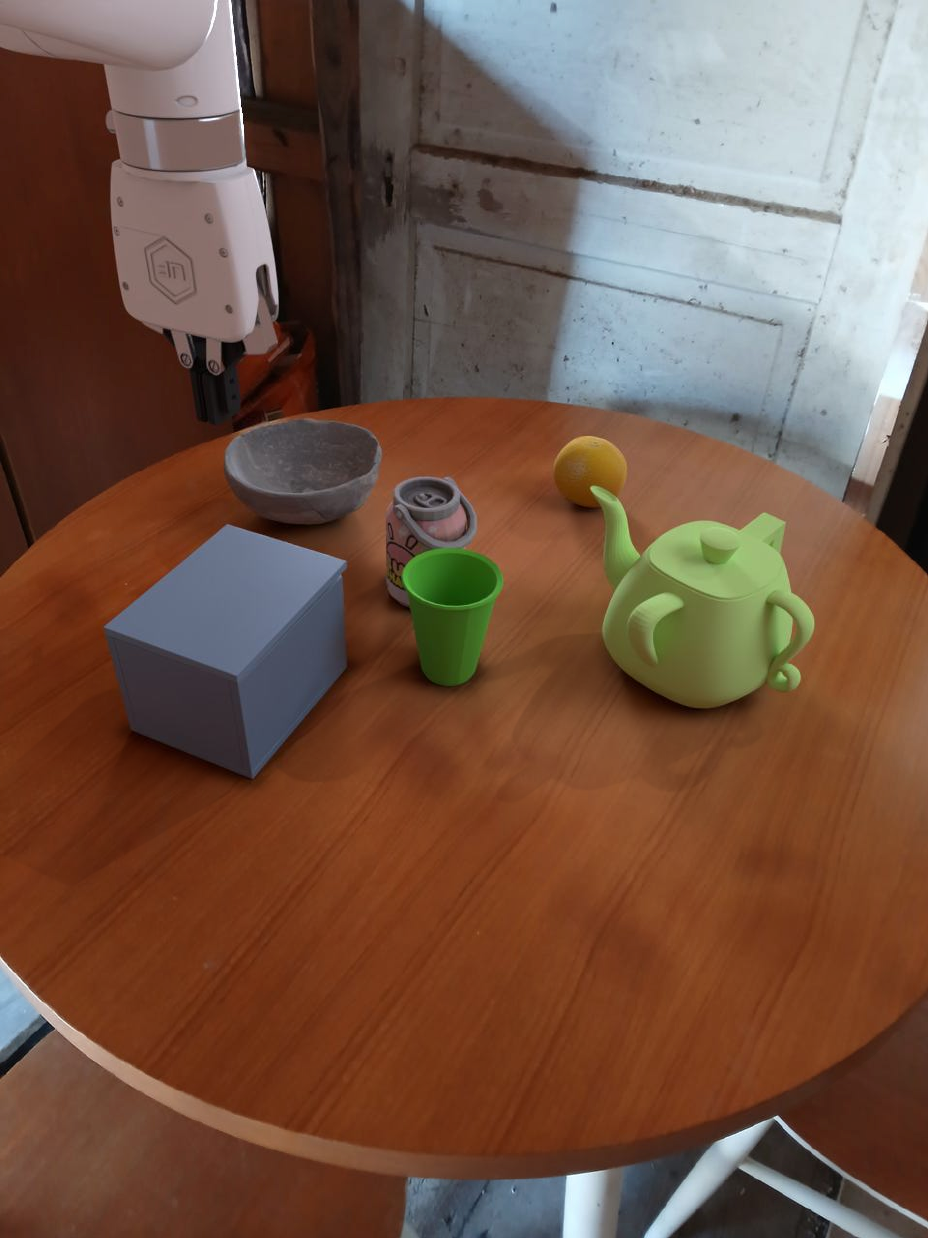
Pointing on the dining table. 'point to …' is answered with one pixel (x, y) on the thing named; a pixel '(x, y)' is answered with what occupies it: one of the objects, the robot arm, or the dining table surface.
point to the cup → (451, 610)
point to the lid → (227, 602)
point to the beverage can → (424, 525)
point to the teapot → (702, 609)
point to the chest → (236, 691)
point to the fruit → (589, 469)
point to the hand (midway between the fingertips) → (219, 415)
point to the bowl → (303, 470)
